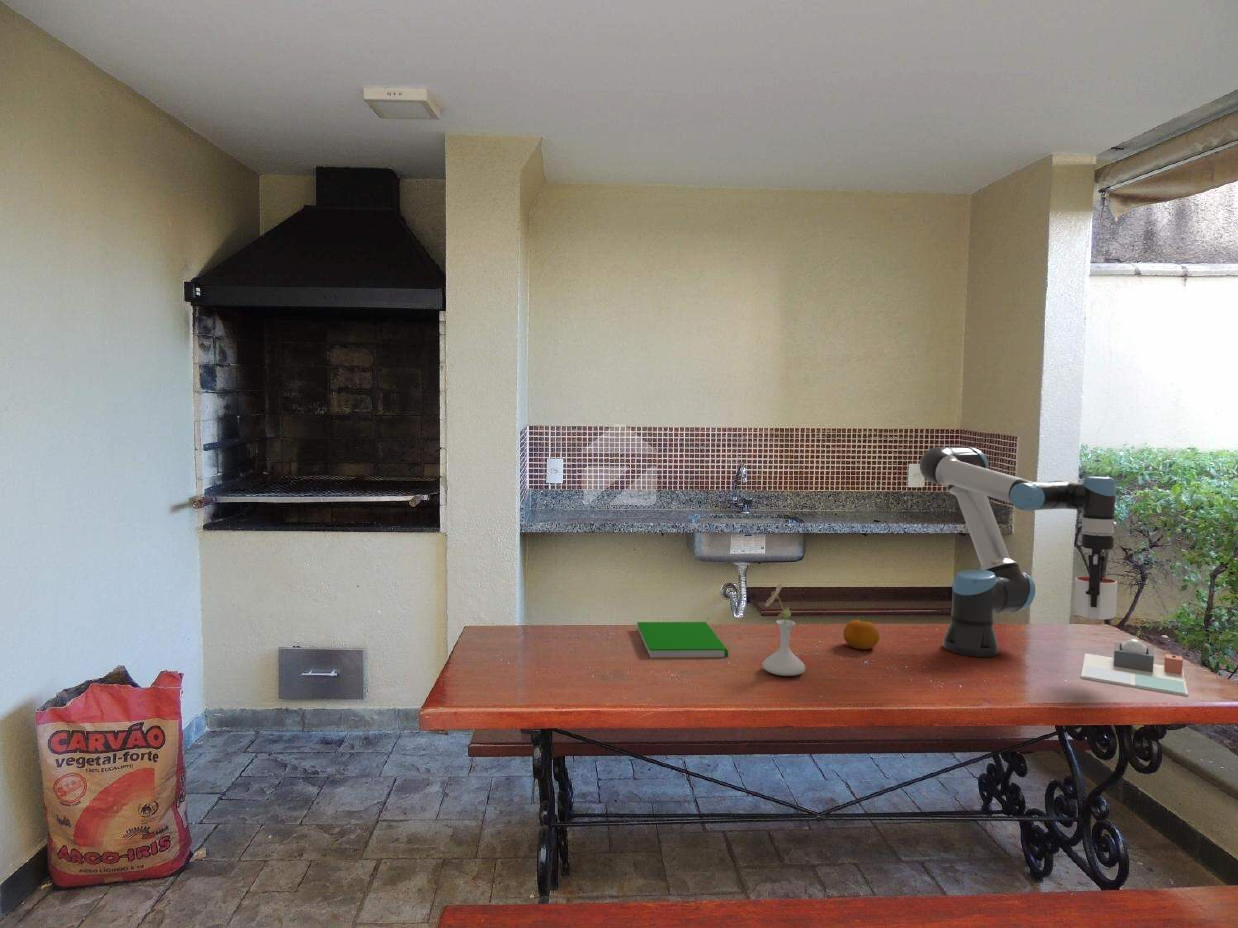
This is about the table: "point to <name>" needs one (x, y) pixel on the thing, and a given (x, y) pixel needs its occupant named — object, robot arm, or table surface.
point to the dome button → (1134, 646)
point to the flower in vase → (783, 645)
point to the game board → (1138, 674)
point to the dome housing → (1133, 659)
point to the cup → (1106, 597)
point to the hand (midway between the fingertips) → (1094, 615)
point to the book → (680, 639)
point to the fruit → (861, 634)
